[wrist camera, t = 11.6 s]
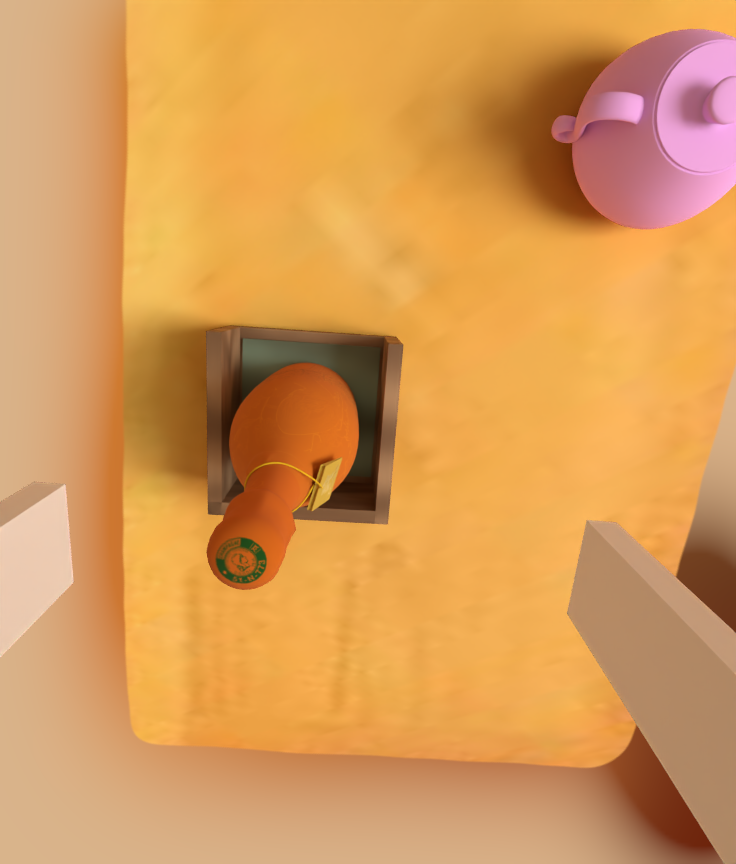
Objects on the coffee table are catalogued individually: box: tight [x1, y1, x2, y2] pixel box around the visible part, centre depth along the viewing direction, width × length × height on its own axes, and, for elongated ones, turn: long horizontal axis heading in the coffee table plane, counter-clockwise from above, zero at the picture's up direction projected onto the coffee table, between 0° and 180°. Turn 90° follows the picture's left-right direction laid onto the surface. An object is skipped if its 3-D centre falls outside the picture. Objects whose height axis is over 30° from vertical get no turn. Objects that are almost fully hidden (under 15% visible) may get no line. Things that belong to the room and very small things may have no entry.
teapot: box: [551, 29, 736, 229], centre depth 40 cm, size 20×14×12 cm
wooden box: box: [206, 326, 403, 524], centre depth 48 cm, size 16×16×8 cm
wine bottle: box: [207, 363, 359, 590], centre depth 36 cm, size 10×10×30 cm
